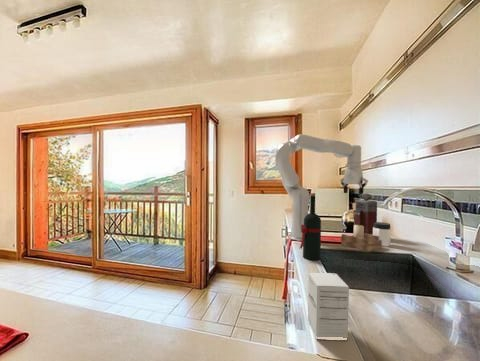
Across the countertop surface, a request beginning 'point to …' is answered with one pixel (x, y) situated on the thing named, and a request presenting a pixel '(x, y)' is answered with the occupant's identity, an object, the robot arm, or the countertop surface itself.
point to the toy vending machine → (365, 213)
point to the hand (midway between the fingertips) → (353, 193)
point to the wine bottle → (311, 233)
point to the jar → (382, 232)
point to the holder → (362, 242)
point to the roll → (359, 231)
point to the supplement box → (328, 305)
